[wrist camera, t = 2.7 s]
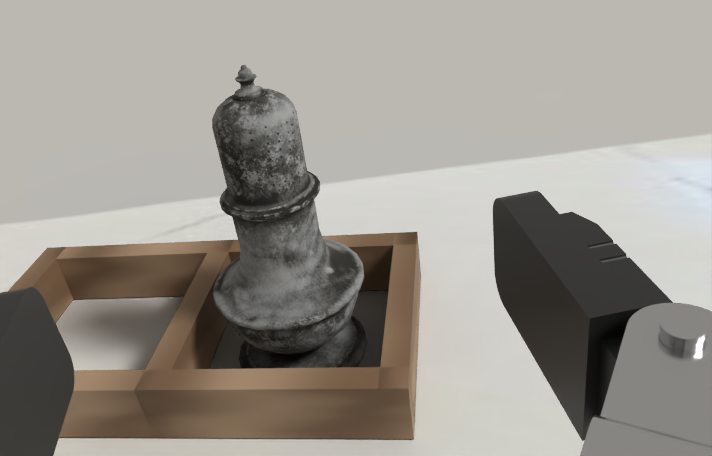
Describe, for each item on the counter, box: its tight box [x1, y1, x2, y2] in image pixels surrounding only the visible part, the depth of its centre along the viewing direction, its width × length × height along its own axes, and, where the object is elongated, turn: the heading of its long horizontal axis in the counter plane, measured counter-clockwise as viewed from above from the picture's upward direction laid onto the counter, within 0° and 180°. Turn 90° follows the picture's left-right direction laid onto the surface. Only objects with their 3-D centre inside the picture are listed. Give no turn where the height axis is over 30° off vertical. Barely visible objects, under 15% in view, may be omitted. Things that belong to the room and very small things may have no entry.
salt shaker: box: [212, 65, 366, 369], centre depth 24 cm, size 6×6×12 cm
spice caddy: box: [9, 232, 421, 439], centre depth 27 cm, size 18×10×2 cm, turn 84°
